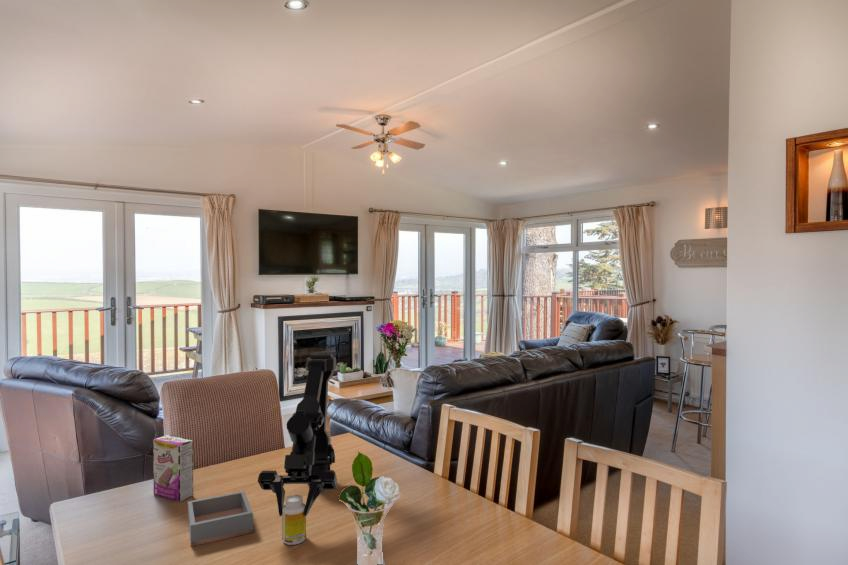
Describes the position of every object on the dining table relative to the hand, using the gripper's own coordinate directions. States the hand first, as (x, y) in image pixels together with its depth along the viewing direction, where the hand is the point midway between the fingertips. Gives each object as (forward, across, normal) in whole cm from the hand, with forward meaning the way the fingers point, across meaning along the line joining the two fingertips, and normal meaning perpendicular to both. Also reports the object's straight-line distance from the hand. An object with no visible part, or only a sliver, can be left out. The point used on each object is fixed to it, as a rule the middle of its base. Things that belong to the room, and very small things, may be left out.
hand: (292, 515), depth 121 cm
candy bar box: (-14, -40, +23) cm, 49 cm away
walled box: (-1, -20, +10) cm, 23 cm away
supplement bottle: (+4, 0, +6) cm, 7 cm away
